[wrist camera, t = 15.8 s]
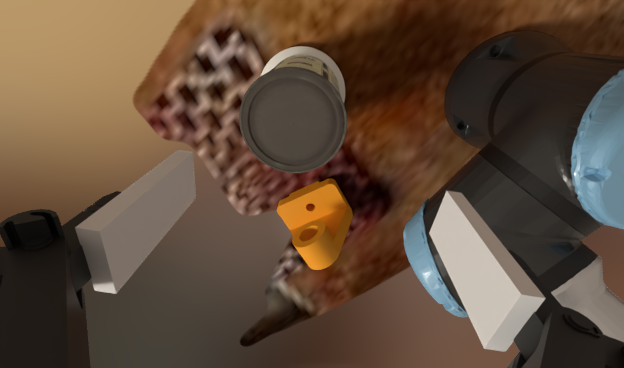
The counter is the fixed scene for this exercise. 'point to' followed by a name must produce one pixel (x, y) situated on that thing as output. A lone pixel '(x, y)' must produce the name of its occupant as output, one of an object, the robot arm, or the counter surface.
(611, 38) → the counter surface
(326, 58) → the plate
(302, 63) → the coffee can
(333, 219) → the bracket
